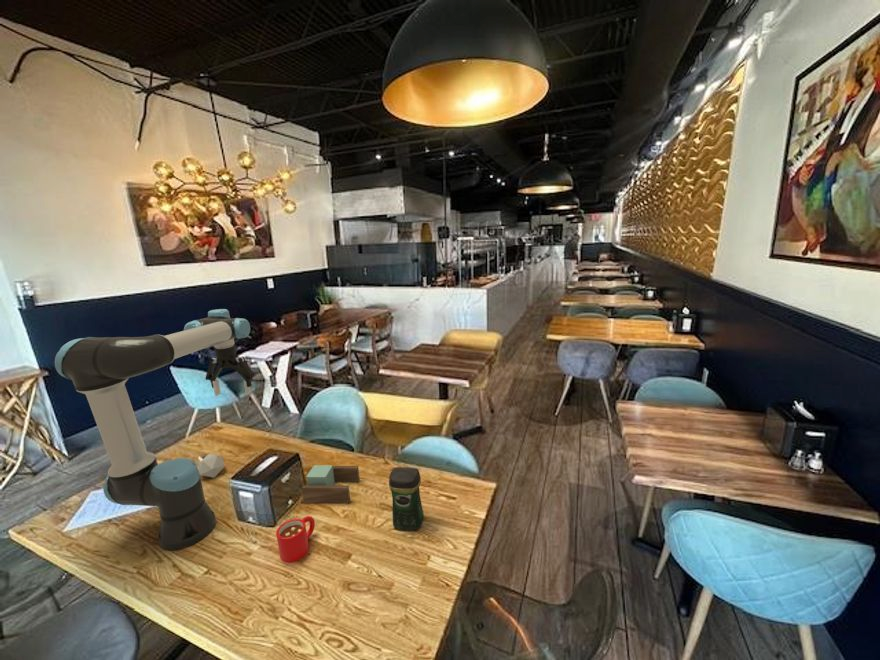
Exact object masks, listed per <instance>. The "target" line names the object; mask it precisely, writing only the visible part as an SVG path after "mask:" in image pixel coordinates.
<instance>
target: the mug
mask: <svg viewBox="0 0 880 660" xmlns="http://www.w3.org/2000/svg"><path fill="white" fill-rule="evenodd" d="M307 522H309V527H308V531H307V528H306V527H307V526H306V523H307ZM314 530H315V519H314V518H313V516H310V515H309V516H305V517H304V518H292V519H289V520H286V521H285V522H283V523H282V524H280V525H279V526H278V528H277V529H276V532H275V535H276V540H277V546H278V552H279V557H280V560H281V561H282V562H284V563H290V564H291V563H294V562H298V561H299V560H301V559H302V558H304V557H305V556H306V554H308V552H309V548H310V546H309V541H308V540H309V539H310V537H311V536H312V535H313V532H314Z"/></svg>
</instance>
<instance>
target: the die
mask: <svg viewBox="0 0 880 660" xmlns="http://www.w3.org/2000/svg"><path fill="white" fill-rule="evenodd" d="M225 467H226V466H225V461H224V458H223V456H220V455H217V454H213V453H208V454H207V455H206V456H205V457H204V458H203V459H202V460H201V461H200V462H198V464H197V468H198V470H199V472H200V476H204V477H209V478H212V479H215V477H217V475H218V474H219V473H220V472H221V471H222V470H223V469H224V468H225Z"/></svg>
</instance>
